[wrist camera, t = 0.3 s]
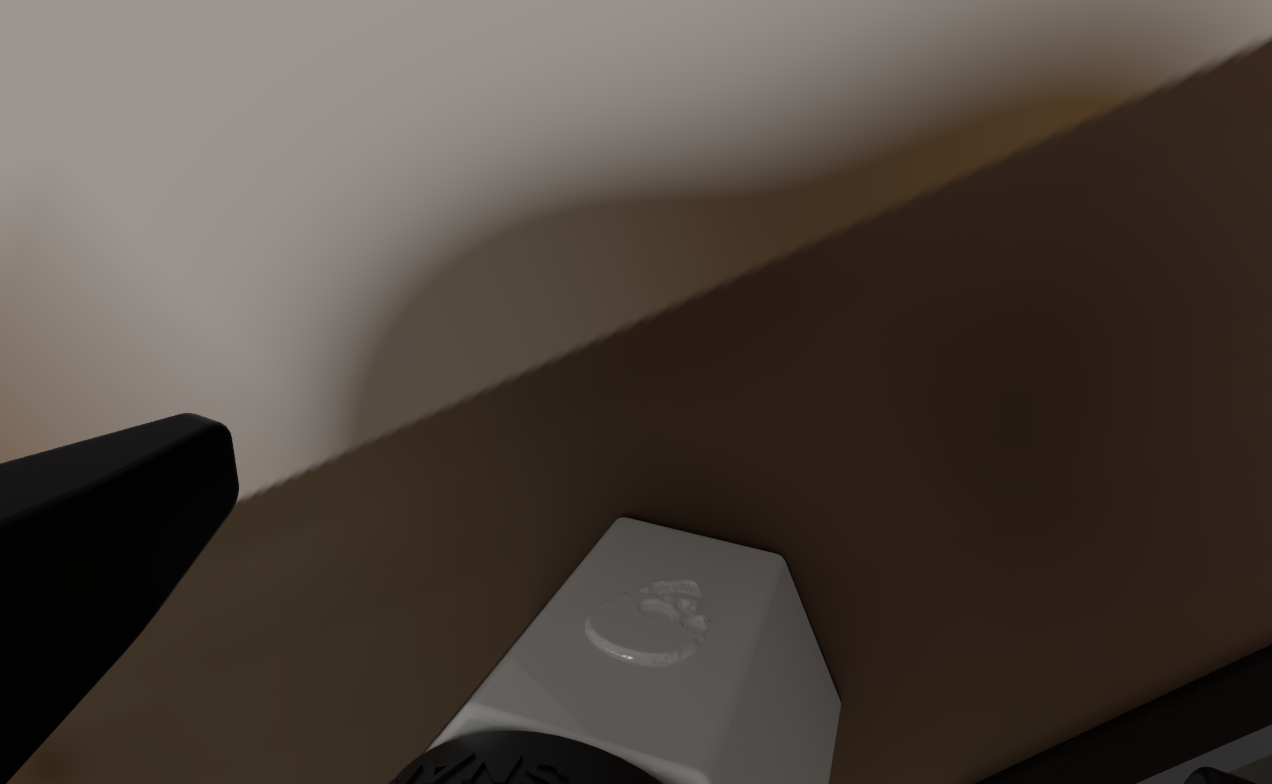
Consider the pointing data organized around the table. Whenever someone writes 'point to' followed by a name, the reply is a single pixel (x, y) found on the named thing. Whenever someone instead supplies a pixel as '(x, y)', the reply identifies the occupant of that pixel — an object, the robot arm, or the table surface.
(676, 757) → the jar
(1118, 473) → the table surface
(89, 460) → the robot arm
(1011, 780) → the gray square tray
